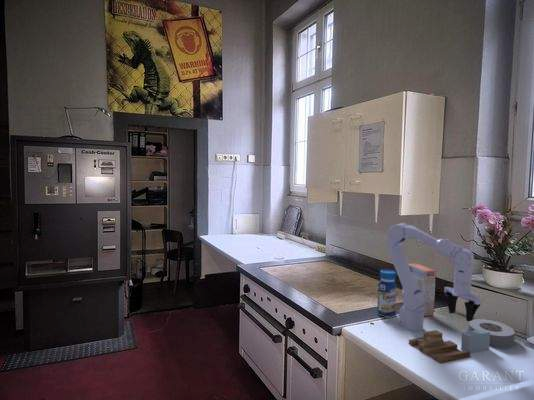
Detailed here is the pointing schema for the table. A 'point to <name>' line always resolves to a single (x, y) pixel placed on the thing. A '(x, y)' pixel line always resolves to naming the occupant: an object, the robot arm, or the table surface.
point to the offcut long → (424, 342)
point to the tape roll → (495, 332)
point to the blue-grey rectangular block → (475, 340)
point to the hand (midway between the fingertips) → (460, 316)
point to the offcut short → (432, 335)
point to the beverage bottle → (387, 294)
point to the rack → (441, 351)
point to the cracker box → (425, 285)
